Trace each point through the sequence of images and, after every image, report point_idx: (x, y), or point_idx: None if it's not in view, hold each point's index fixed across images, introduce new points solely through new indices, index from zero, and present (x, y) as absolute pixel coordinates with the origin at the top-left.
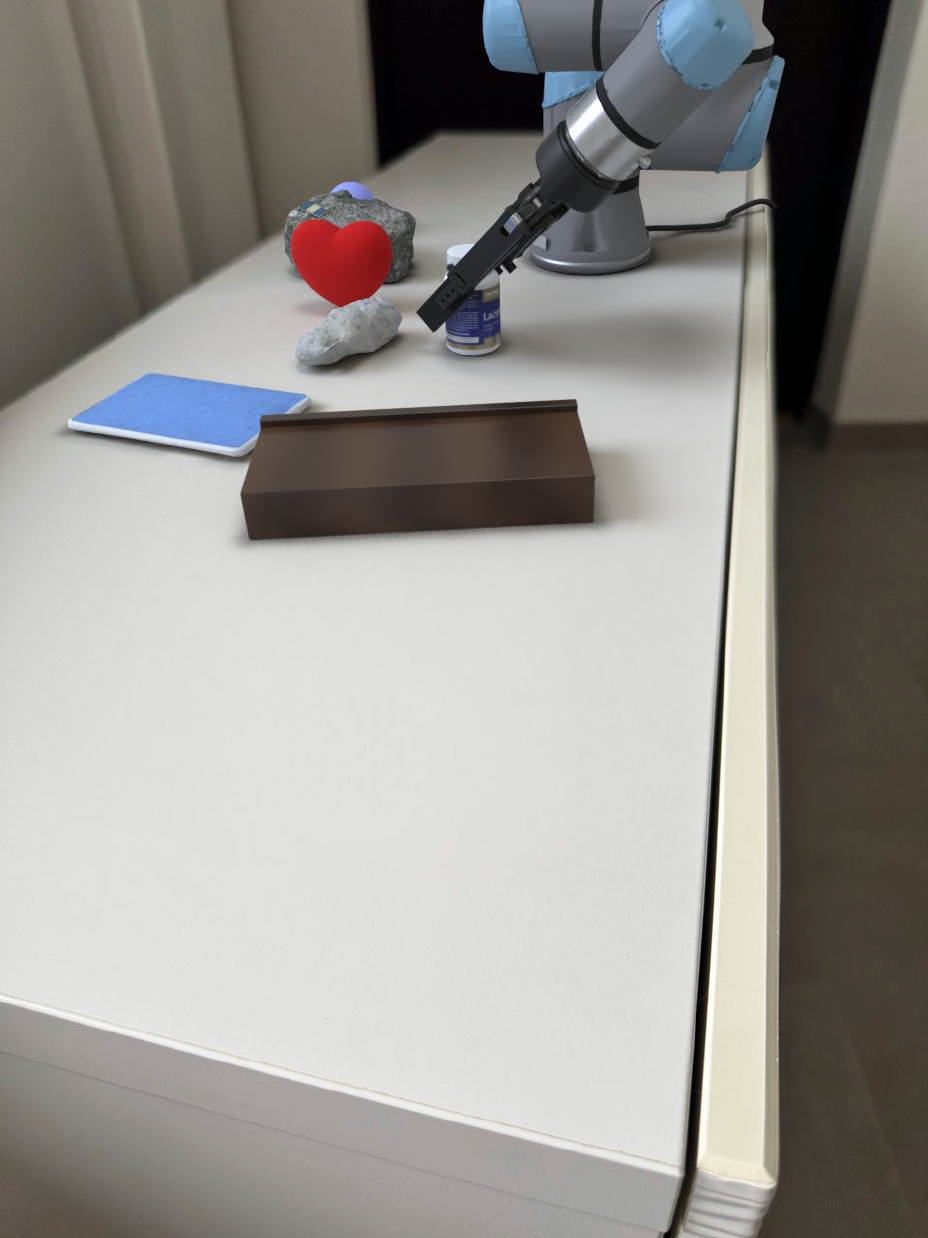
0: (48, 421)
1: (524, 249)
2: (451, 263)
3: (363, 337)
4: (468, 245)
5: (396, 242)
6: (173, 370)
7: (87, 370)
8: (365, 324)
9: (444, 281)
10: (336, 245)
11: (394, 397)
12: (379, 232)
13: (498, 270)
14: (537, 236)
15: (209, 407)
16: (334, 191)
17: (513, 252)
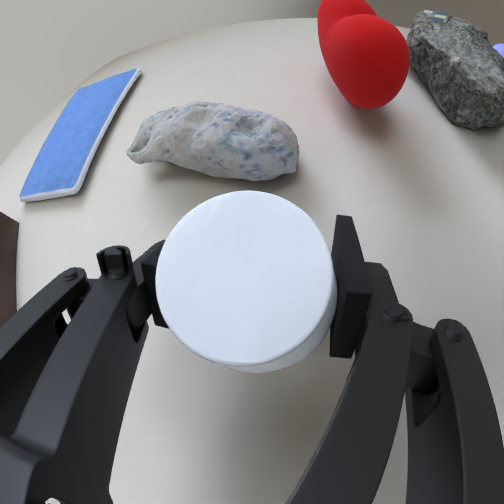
0: (97, 77)
1: (407, 415)
2: (120, 254)
3: (177, 162)
4: (297, 243)
5: (471, 93)
6: (164, 68)
7: (167, 42)
8: (178, 152)
9: (161, 244)
10: (333, 27)
11: (96, 262)
12: (378, 44)
13: (334, 349)
14: (408, 478)
15: (71, 136)
16: (501, 44)
17: (333, 413)
